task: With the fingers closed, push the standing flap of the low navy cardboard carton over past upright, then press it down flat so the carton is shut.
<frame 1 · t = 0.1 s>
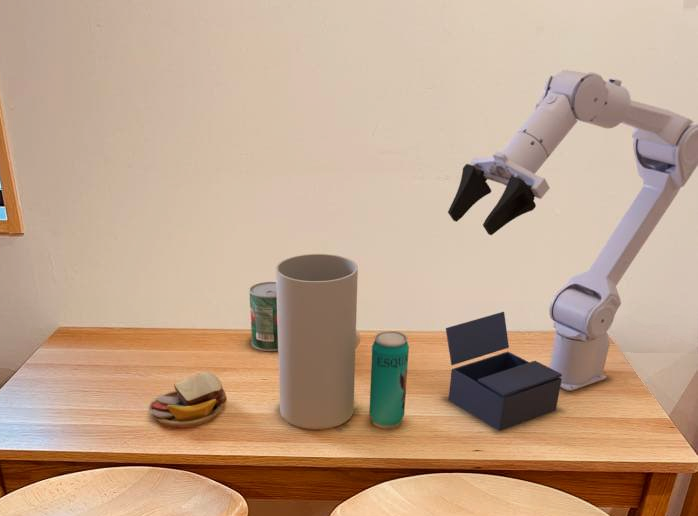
hand: (469, 223, 122), 32 cm above the table, tool tilted 50°, fingers open, 7 cm apart
canned tomato: (271, 344, 167), on the table
flap: (478, 338, 144), point 9 cm above the table, hinge at 112.0°
carton: (501, 405, 145), on the table
toy sandwich meal: (188, 411, 146), on the table
cylinder vase: (316, 414, 144), on the table
beverage can: (386, 423, 141), on the table
teacup with lid: (328, 361, 160), on the table
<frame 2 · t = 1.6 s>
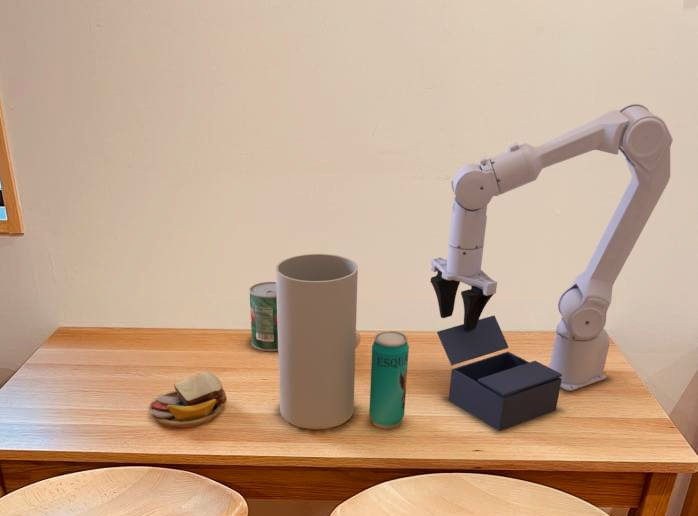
hand: (457, 322, 148), 10 cm above the table, tool pointing down, fingers open, 6 cm apart
flap: (473, 339, 146), point 9 cm above the table, hinge at 135.5°, touching gripper
everything else where it was.
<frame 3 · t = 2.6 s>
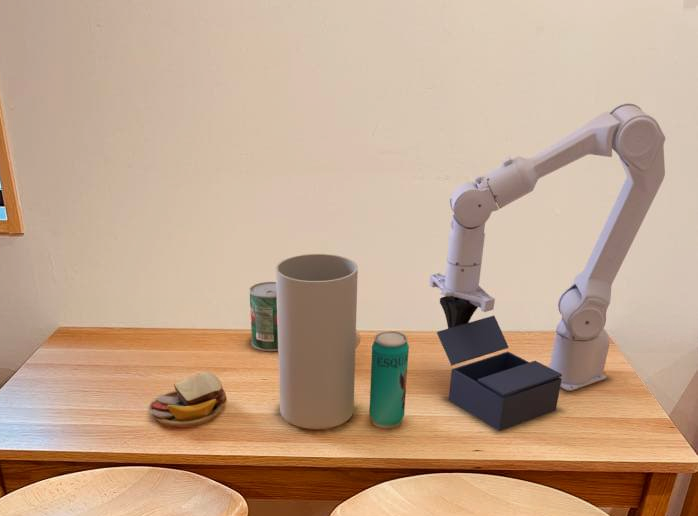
hand: (456, 337, 149), 8 cm above the table, tool pointing down, fingers closed
flap: (473, 340, 146), point 9 cm above the table, hinge at 136.1°
everything else where it was.
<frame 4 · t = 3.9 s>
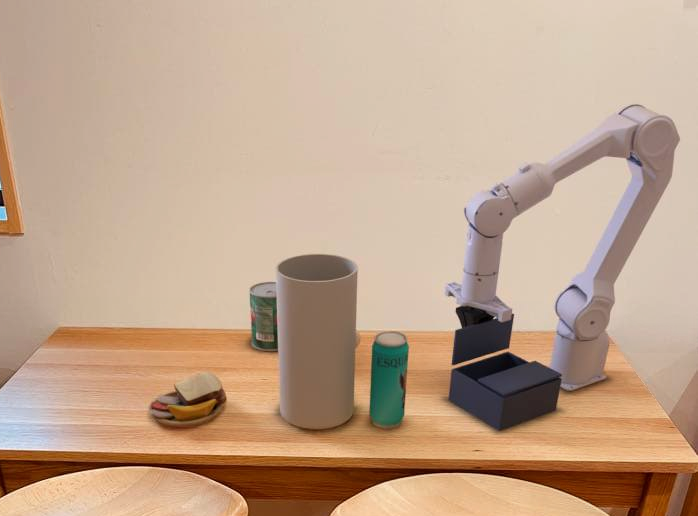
hand: (471, 347, 147), 7 cm above the table, tool pointing down, fingers closed, pressing on flap
flap: (483, 339, 144), point 10 cm above the table, hinge at 89.5°, touching gripper
everything else where it was.
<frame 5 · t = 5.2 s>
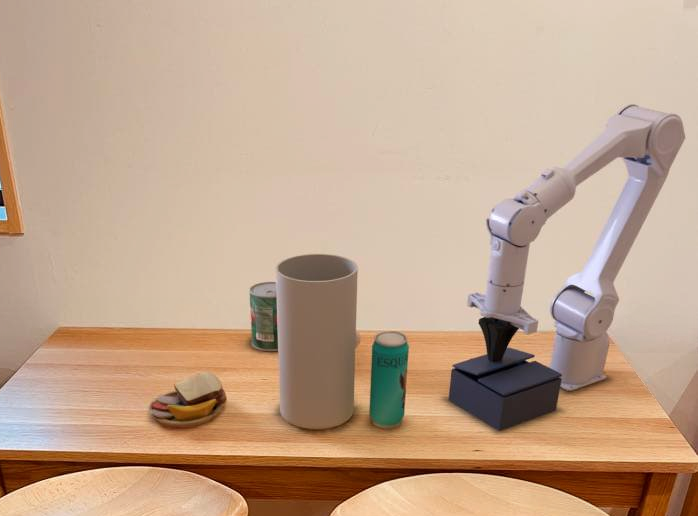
hand: (495, 359, 143), 7 cm above the table, tool pointing down, fingers closed
flap: (493, 360, 143), point 7 cm above the table, hinge at 8.4°
everything else where it was.
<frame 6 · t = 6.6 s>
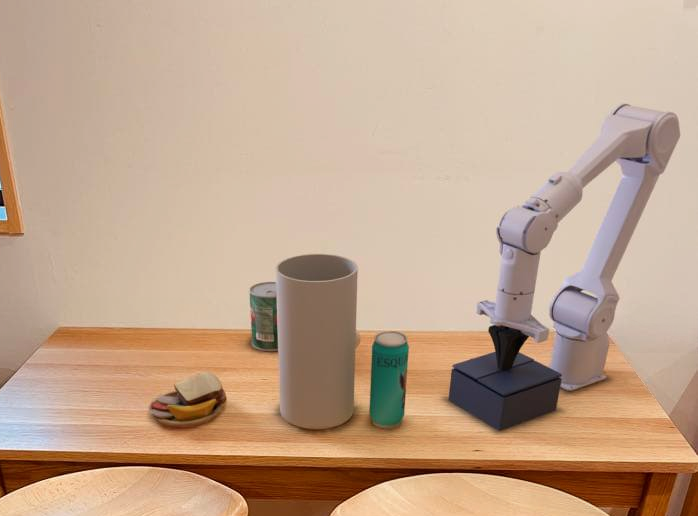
hand: (504, 367, 141), 7 cm above the table, tool pointing down, fingers closed, pressing on flap
flap: (493, 363, 143), point 7 cm above the table, hinge at 1.3°, touching gripper
everything else where it was.
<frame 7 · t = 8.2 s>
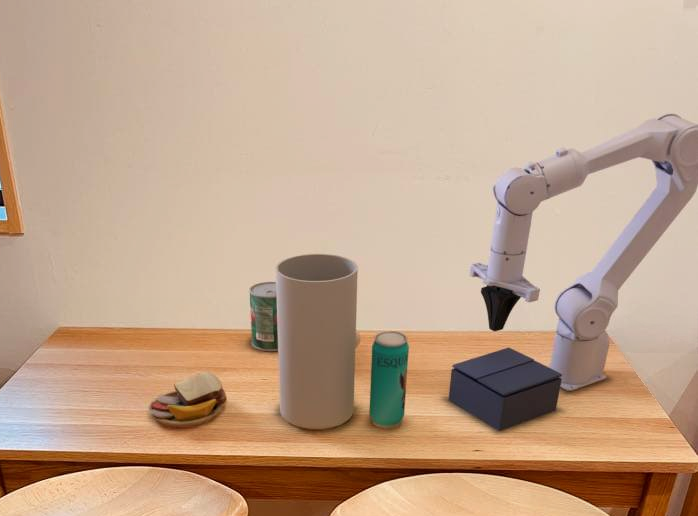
hand: (496, 329, 145), 10 cm above the table, tool pointing down, fingers closed
flap: (493, 363, 143), point 7 cm above the table, hinge at 1.3°
everything else where it was.
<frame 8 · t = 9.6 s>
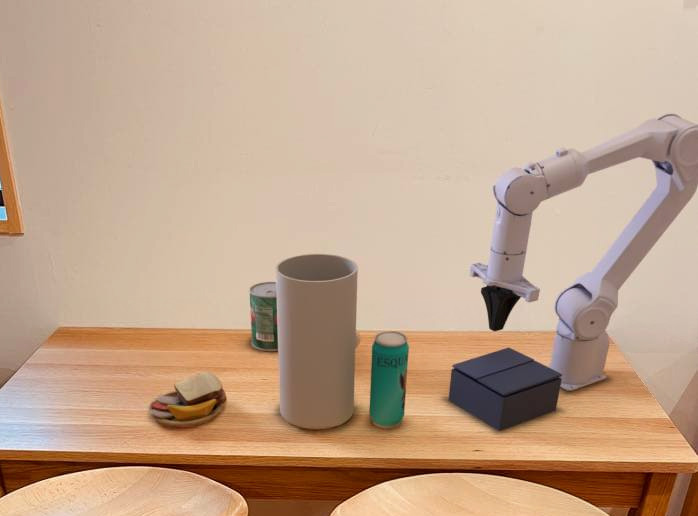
hand: (496, 329, 145), 10 cm above the table, tool pointing down, fingers closed
nothing on the table moved.
at the end: flap at +1° (first picture: +112°) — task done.
